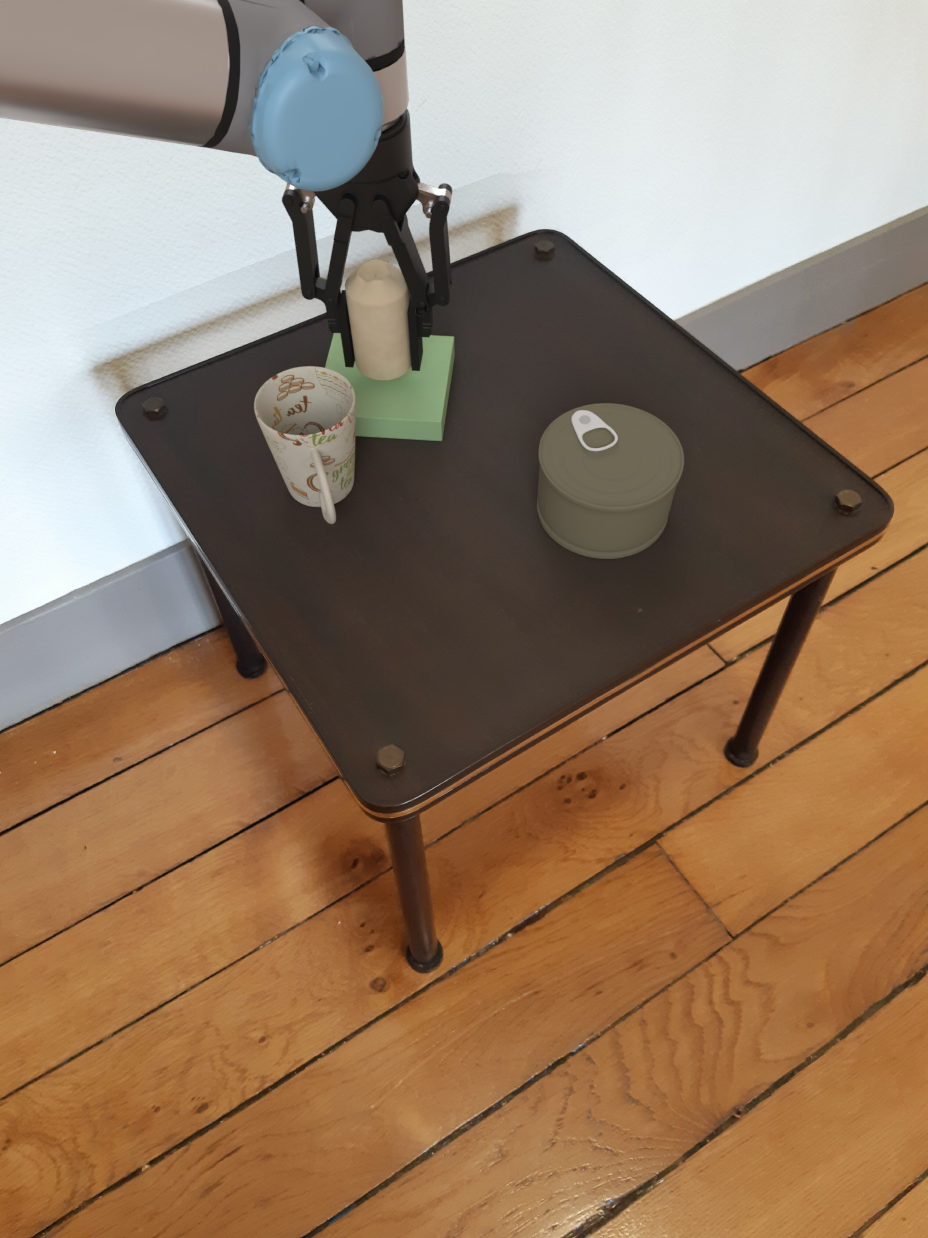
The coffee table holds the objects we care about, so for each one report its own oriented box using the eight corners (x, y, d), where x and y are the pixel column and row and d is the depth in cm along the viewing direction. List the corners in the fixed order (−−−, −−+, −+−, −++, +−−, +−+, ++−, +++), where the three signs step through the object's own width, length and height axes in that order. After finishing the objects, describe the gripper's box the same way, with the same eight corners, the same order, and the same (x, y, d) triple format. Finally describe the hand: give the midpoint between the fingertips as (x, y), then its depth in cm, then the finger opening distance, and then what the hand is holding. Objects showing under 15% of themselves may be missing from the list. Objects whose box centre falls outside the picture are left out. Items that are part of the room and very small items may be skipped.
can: (575, 580, 79) (583, 527, 73) (511, 484, 85) (513, 428, 79) (696, 532, 82) (713, 477, 76) (625, 442, 88) (636, 386, 82)
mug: (353, 440, 88) (341, 356, 80) (390, 539, 82) (380, 458, 73) (266, 461, 87) (244, 378, 79) (296, 563, 80) (276, 484, 72)
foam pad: (316, 433, 89) (312, 414, 87) (337, 349, 96) (334, 329, 94) (442, 441, 88) (441, 421, 86) (454, 356, 95) (454, 336, 93)
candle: (420, 374, 88) (414, 282, 79) (362, 386, 87) (350, 294, 79) (405, 337, 91) (398, 244, 82) (349, 348, 90) (336, 256, 82)
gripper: (488, 88, 71) (485, 338, 90) (246, 80, 72) (295, 328, 91) (479, 142, 67) (479, 392, 86) (223, 132, 68) (279, 381, 87)
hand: (384, 358), depth 89 cm, fingers closed on candle, 5 cm apart
